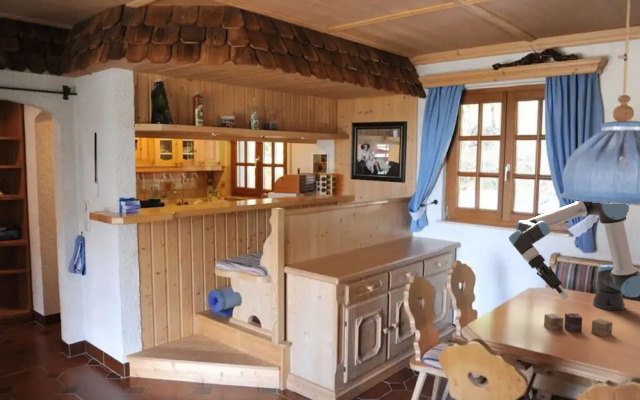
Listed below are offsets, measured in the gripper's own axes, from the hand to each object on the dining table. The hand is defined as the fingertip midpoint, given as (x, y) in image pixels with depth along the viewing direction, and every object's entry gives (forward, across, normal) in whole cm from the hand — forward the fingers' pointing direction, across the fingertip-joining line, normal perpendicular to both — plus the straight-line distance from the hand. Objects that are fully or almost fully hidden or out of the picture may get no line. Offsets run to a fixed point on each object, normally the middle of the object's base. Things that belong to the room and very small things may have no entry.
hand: (566, 297), depth 237 cm
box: (+13, 0, -8) cm, 16 cm away
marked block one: (+21, -5, 0) cm, 21 cm away
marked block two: (+8, +4, -14) cm, 16 cm away
